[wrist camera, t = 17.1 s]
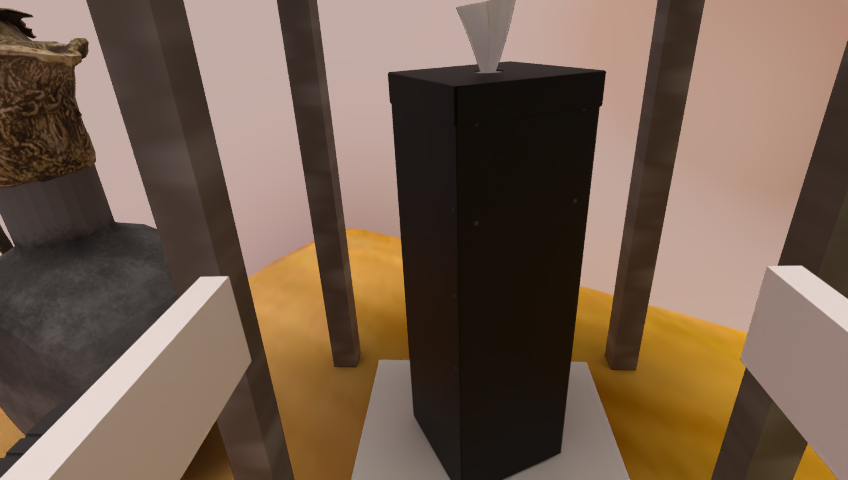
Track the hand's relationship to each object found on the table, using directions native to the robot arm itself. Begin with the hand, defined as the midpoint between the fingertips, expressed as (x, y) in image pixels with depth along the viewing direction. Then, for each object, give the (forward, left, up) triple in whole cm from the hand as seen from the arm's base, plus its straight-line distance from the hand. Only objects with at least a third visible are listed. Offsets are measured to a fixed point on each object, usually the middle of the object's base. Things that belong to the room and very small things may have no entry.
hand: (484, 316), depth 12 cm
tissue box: (-3, -14, -21) cm, 25 cm away
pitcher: (+22, -19, -21) cm, 36 cm away
